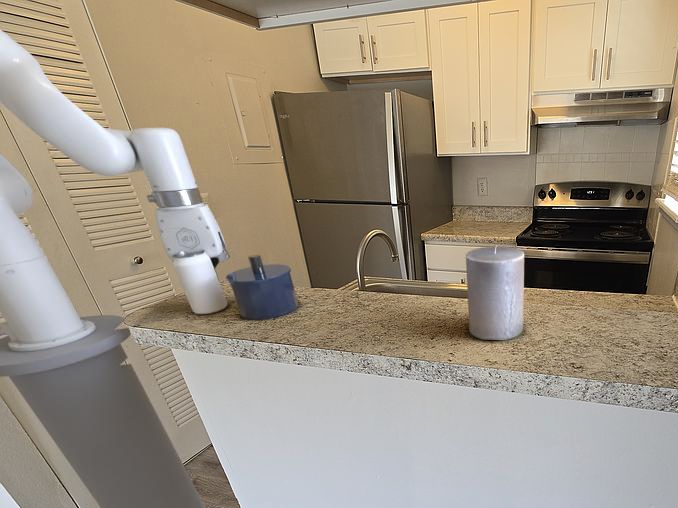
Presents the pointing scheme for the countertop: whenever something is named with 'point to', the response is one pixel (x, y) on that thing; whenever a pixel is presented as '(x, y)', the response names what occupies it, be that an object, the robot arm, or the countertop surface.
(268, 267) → the pot lid
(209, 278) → the can
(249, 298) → the pot
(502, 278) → the pillar candle
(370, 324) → the countertop surface
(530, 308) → the countertop surface
